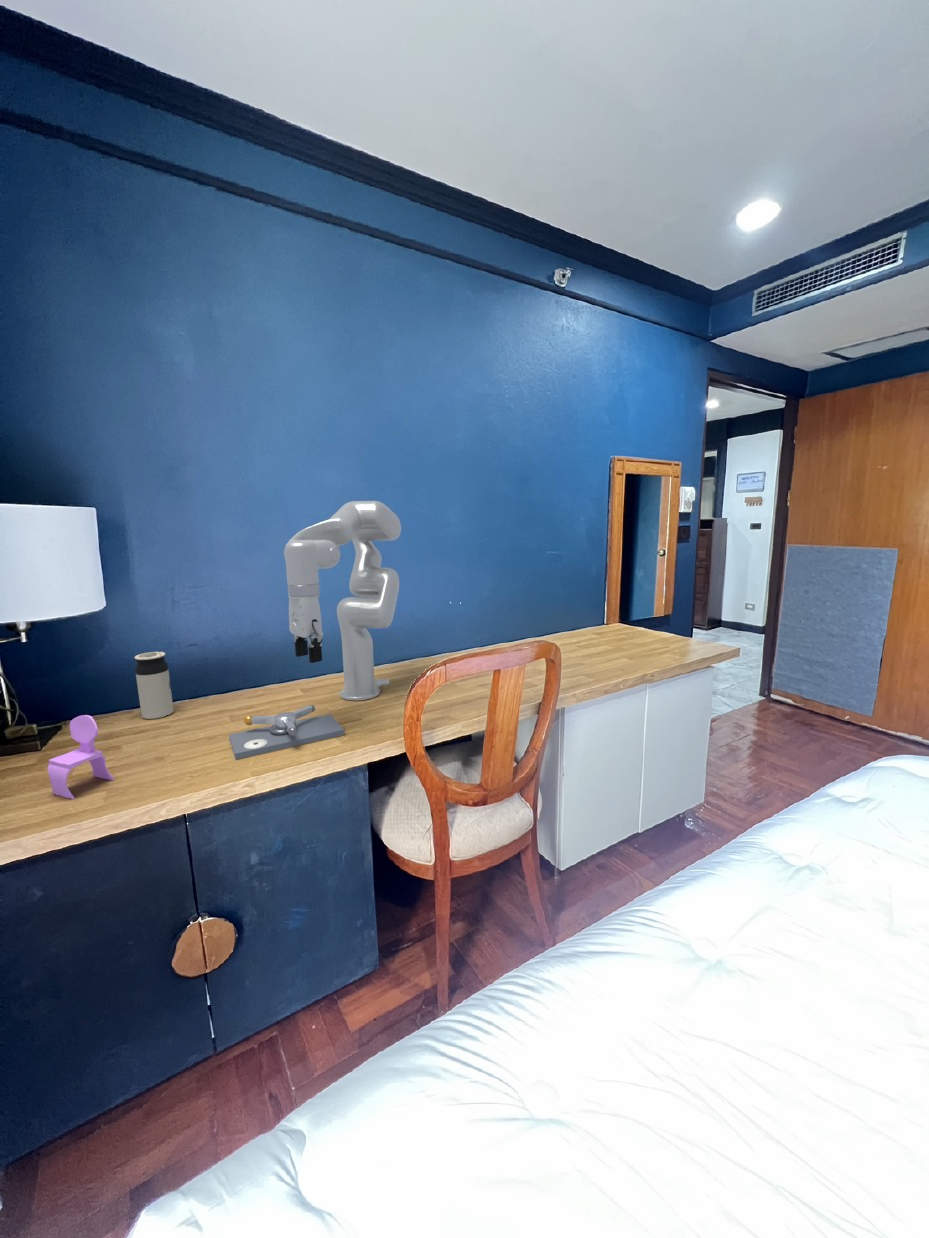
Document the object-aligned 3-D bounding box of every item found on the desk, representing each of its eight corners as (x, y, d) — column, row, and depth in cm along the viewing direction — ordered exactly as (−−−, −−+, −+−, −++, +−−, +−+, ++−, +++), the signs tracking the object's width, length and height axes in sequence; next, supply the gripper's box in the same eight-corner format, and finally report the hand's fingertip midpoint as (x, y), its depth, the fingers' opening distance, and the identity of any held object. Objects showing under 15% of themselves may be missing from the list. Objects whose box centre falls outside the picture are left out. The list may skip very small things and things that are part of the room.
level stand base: (330, 718, 140) (330, 713, 140) (344, 735, 129) (344, 728, 129) (229, 739, 127) (228, 733, 127) (235, 759, 116) (234, 752, 116)
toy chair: (47, 794, 102) (34, 725, 99) (92, 774, 110) (81, 710, 107) (73, 801, 99) (61, 731, 96) (117, 780, 107) (107, 715, 104)
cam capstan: (316, 716, 137) (315, 702, 136) (296, 743, 120) (295, 728, 119) (258, 717, 137) (257, 703, 136) (229, 744, 120) (228, 729, 119)
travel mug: (139, 721, 140) (130, 659, 136) (144, 712, 147) (136, 653, 143) (172, 717, 143) (164, 656, 139) (175, 708, 150) (167, 650, 147)
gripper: (275, 589, 129) (281, 655, 132) (304, 596, 116) (309, 668, 119) (303, 586, 134) (308, 650, 137) (333, 592, 121) (337, 662, 124)
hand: (308, 658), depth 128 cm, fingers open, 7 cm apart
